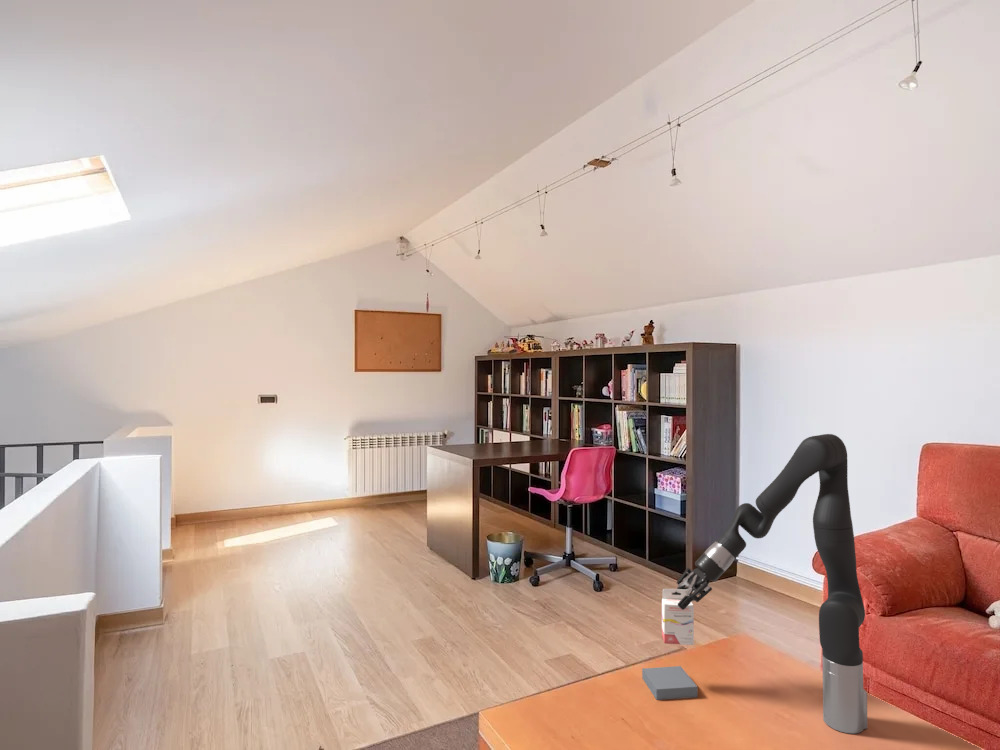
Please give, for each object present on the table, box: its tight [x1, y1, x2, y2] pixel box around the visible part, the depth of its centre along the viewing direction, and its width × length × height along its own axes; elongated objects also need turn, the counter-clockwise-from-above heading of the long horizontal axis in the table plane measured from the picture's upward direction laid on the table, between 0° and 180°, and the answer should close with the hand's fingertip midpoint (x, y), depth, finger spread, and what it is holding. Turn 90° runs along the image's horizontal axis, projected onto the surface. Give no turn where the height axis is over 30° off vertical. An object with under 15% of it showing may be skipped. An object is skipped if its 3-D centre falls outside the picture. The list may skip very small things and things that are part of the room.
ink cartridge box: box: [661, 588, 695, 646], centre depth 177 cm, size 9×5×15 cm, turn 83°
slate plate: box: [641, 665, 699, 701], centre depth 176 cm, size 12×12×3 cm
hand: (676, 603), depth 177 cm, fingers closed on ink cartridge box, 5 cm apart
